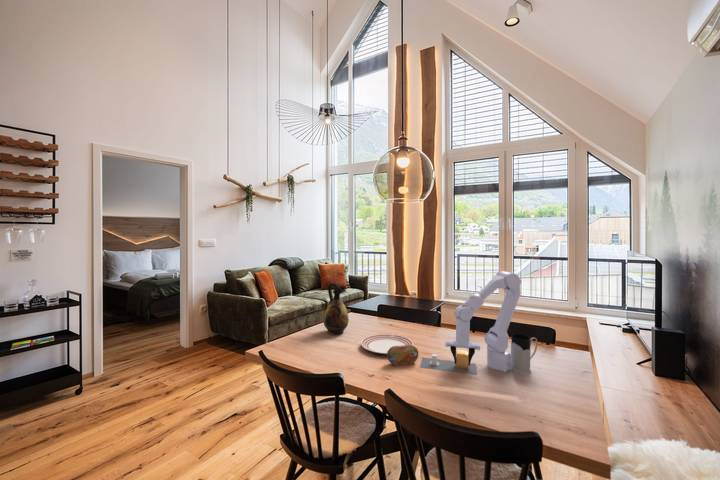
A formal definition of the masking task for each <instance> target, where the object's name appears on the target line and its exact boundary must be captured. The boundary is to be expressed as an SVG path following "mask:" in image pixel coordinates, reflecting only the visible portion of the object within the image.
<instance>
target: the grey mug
mask: <svg viewBox="0 0 720 480" xmlns="http://www.w3.org/2000/svg"><path fill="white" fill-rule="evenodd" d="M534 339H535V346H534V351H533V353H532V352H531V345H532V341H533V340H534ZM537 350H538V339H537V338H536V337H531V336H528V335H526V334H521V333H513V334H512V335H511V342H510V355H511V372H513V373H515V374H519V375H530V374H532V370H531V359H533V357H534V356H535V354H536V352H537ZM531 353H532V354H531Z"/></svg>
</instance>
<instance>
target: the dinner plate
mask: <svg viewBox="0 0 720 480" xmlns="http://www.w3.org/2000/svg"><path fill="white" fill-rule="evenodd" d="M360 344H361V347H362V348H364V350H367V351H370V352H372V353H376V354H381V355H387V352H388V350H389V349H390V348H391V347H393V346H400V345H412V346H414V342H413V341H412V340H411V339H410V338H408V337H405V336H402V335H399V334H393V333H391V334H390V333H383V334H382V333H380V334H373V335H370V336H366V337H365V338H363V339H362V340H361V342H360Z"/></svg>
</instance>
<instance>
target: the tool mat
mask: <svg viewBox="0 0 720 480" xmlns="http://www.w3.org/2000/svg"><path fill="white" fill-rule="evenodd" d="M419 368H420V369H427V370H436V371H442V372H452V373H461V374H467V375H469V374H470V375H474V376H477V375H478V369H477V364H476V363H473V362H470V366H468V370H462V369H456V364H455V361H454V360H450V359H448V360H447V359H440V358H439V359H438V354H436V353H432V354H431V357H421V360H420V365H419Z"/></svg>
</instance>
